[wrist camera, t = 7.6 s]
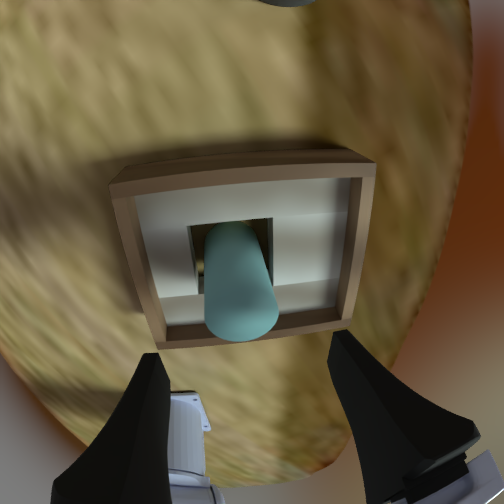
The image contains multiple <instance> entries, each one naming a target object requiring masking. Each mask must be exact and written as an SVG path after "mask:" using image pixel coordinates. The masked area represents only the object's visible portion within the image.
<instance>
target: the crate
mask: <svg viewBox="0 0 504 504" xmlns="http://www.w3.org/2000/svg"><path fill="white" fill-rule="evenodd" d="M375 173H376V163H375V162H373V161H371V160H370V159H368V158H366V157H364V156H362V155H360V154H359V153H357V152H355V151H353V150H351V149H297V150H272V151H255V152H241V153H229V154H218V155H208V156H198V157H190V158H182V159H174V160H166V161H159V162H153V163H146V164H140V165H134V166H128V167H125V168H124V169H123V170H122V171H121V172H120V173H119V174H118V175H117V176H116V177H115V178H114V179H113V180H112V181H111V183H110V184H109V185H108V186H109V191H110V196H111V200H112V204H113V209H114V213H115V217H116V221H117V225H118V229H119V233H120V237H121V240H122V244H123V248H124V251H125V255H126V258H127V261H128V265H129V268H130V271H131V275H132V278H133V281H134V284H135V287H136V290H137V294H138V297H139V300H140V302H141V305H142V308H143V311H144V314H145V317H146V320H147V322H148V325H149V328H150V330H151V333H152V336H153V338H154V341H155V344H156V346H157V349H158V350H160V349H176V348H190V347H203V346H214V345H224V344H233V343H242V342H251V341H259V340H266V339H274V338H281V337H288V336H294V335H301V334H307V333H313V332H319V331H324V330H330V329H335V328H341V327H346V326H350V322H351V318H352V314H353V310H354V305H355V301H356V296H357V291H358V286H359V281H360V276H361V271H362V266H363V260H364V254H365V249H366V243H367V236H368V230H369V223H370V216H371V208H372V201H373V192H374V183H375ZM260 218H267V223H268V269H267V272H268V275H269V278H270V282H271V285H272V288H273V292H274V295H275V298H276V302H277V305H278V309H279V315H278V319H277V321H276V323H275V325H274V326H273V327H272V328H271V329H270V330H269V331H268V332H267V333H266V334H264V335H262V336H260V337H258V338H256V339H253V340H249V341H242V342H235V341H228V340H224V339H222V338H219V337H217V336H216V335H214V334H213V333H212V332H211V331H210V330H209V329H208V327H207V325H206V323H205V318H204V276H201V277H199V275H198V270H197V264H196V258H195V252H194V245H193V239H192V233H191V226H190V225H200V224H209V223H219V222H228V221H239V220H249V219H260Z"/></svg>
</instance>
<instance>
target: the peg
mask: <svg viewBox="0 0 504 504" xmlns="http://www.w3.org/2000/svg"><path fill="white" fill-rule="evenodd" d="M278 315H279V309H278V305H277V302H276V298H275V295H274V292H273V288H272V285H271V282H270V278H269V275H268V272H267V269H266V265H265V262H264V259H263V255H262V252H261V249H260V246H259V242H258V239H257V236H256V234H255V232H254V230H253V229H252V228H251V227H250V226H248V225H247V224H245V223H243V222H240V221H228V222H221V223H219V224H217V225H215V226H214V227H213V228H212V229H211V230H210V231H209V232H208V234H207V236H206V238H205V243H204V318H205V323H206V325H207V327H208V329H209V330H210V331H211V332H212V333H213V334H214V335H216V336H217V337H219V338H222V339H224V340H228V341H235V342H242V341H249V340H253V339H256V338H258V337H260V336H262V335H264V334H266V333H267V332H268V331H269V330H270V329H271V328H272V327H273V326H274V325H275V323H276V321H277V319H278Z"/></svg>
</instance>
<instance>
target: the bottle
mask: <svg viewBox="0 0 504 504" xmlns="http://www.w3.org/2000/svg"><path fill="white" fill-rule="evenodd" d="M260 1H263V2H265V3H268V4H272V5H276V6H281V7H297V6H303V5H306V4H309V3H312V2H314V1H316V0H260Z"/></svg>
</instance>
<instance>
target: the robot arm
mask: <svg viewBox="0 0 504 504" xmlns="http://www.w3.org/2000/svg"><path fill="white" fill-rule="evenodd" d="M327 364H328V368H329V371H330V375H331V379H332V382H333V385H334V387H335V390H336V392H337V395H338V397H339V399H340V402H341V404H342V407H343V409H344V411H345V414H346V416H347V419H348V421H349V424H350V427H351V429H352V433H353V436H354V440H355V444H356V448H357V452H358V456H359V460H360V465H361V469H362V475H363V481H364V487H365V494H366V503H367V504H387V503H390V502H391V504H487V503H488V502H489V501H490V500H492V499H493V498H494V497H495V496H497V495H498V494H499V493H500V492H502V491H503V490H504V481H503V478H502V476H501V474H500V472H499V470H498V467H497V465H496V463H495V461H494V459H493V457H492V455H491V453H490V451H489V450H486V451H485V452H483V453H482V454H480V455H479V456H477V457H476V458H474V459H473V460H471V461H470V462H468V463H467V464H466V463H465V461H464V460H465V459H466V457H467V456H466V454H465V451H466V450H468V449H469V448H470V447H471V446H472V445H474V444H475V443H476V442H477V441H478V440H479V439H480V437H481V435H480V433H479V431H478V429H477V427H476V426H475V424H474V422H473V421H472V420H469V419H467V418H464V417H461V416H459V415H456V414H454V413H451V412H449V411H447V410H445V409H443V408H441V407H439V406H437V405H436V404H434V403H432V402H430V401H429V400H427V399H425V398H424V397H422V396H420V395H419V394H418V393H416V392H414V391H413V390H412V389H410V388H409V387H408V386H406V385H405V384H404V383H402V382H401V381H400V380H399V379H397V378H396V377H395V376H394V375H393V374H392V373H390V372H389V371H388V370H387V369H386V368H385V367H384V366H383V365H382V364H381V363H380V362H379V361H378V360H376V359H375V358H374V357H373V356H372V355H371V354H370V353H369V352H368V351H367V350H366V349H365V348H364V347H363V345H362V344H361V343H360V342H359V341H358V340H357V339H356V338H355V337H354V336H353V335H352V334H351V333H350V332H349V331H348V330H347V329H346V330H341V331H335V332H333V336H332V341H331V346H330V350H329V355H328V360H327ZM210 430H211V426H210V424H209V421H208V419H207V416H206V413H205V411H204V408H203V405H202V403H201V400H200V397H199V394H198V393H195V392H192V393H171V390H170V379H169V377H168V375H167V373H166V370H165V368H164V365H163V363H162V361H161V358H160V356H159V353H144V354H143V355H142V357H141V360H140V362H139V364H138V366H137V368H136V371H135V373H134V375H133V377H132V379H131V381H130V383H129V385H128V387H127V388H126V390H125V392H124V394H123V396H122V398H121V400H120V401H119V403H118V405H117V407H116V408H115V410H114V412H113V413H112V415H111V417H110V418H109V420H108V421H107V423H106V424H105V426H104V427H103V428H102V430H101V431H100V433H99V434H98V435H97V437H96V438H95V439H94V440H93V442H92V443H91V444H90V445H89V447H88V448H87V449H86V450H85V451H84V453H82V454H81V456H80V457H79V458H78V459H77V460H76V461H75V462H74V463H73V464H72V465H71V466H70V467H69V468H68V469H66V470H65V471H64V472H63V473H62V474H61V475H60V476H59V477H57V478H56V479H55V480H54V482H53V486H52V493H51V503H50V504H225V500H224V497H223V494H222V492H221V491H220V490H219V489H218V487H217V486H216V485H214V484H210V477H205V453H204V435H203V431H210Z"/></svg>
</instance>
